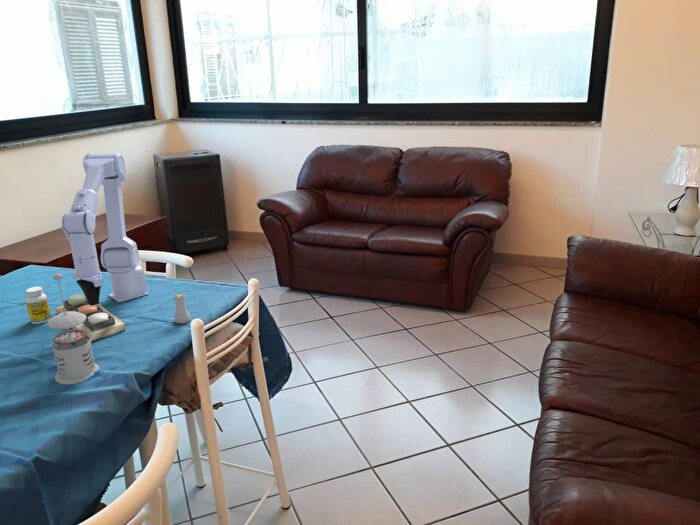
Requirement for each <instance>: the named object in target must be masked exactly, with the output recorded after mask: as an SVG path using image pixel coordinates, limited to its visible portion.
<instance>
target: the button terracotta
mask: <svg viewBox="0 0 700 525" xmlns="http://www.w3.org/2000/svg"><path fill="white" fill-rule="evenodd" d="M77 310H78V312H79V313H82V314H87V313H90V312H94V311H97V310H98V309H97V305H93V306H91V305H84V306H81V307H79V308H78V309H77Z"/></svg>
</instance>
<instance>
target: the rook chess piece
mask: <svg viewBox="0 0 700 525" xmlns="http://www.w3.org/2000/svg"><path fill="white" fill-rule="evenodd" d="M186 296H187V295H185V293H184V292H180V293H179V292H177V293H174V296H173V300H174V301H175V303H174V304H175V307H176V308H175V313H174V316H173V318H174V323H176V324H180V325H181V324H185V323H188V322H190V320H191V314H190V312H189V311H188V310H187V306H186V301H185V300H186V298H187V297H186Z"/></svg>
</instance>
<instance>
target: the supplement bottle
mask: <svg viewBox="0 0 700 525" xmlns="http://www.w3.org/2000/svg"><path fill="white" fill-rule="evenodd" d="M25 294H26V296H27V297H26V298H25V301H24V302H25V305H26V310H27V313H28V317H29V321H30V323H31V324H33V325H41V323H42V324H45V323H48V321H49V320H50V319H51V318H52V313H51V308H50V305H49V300H48V297H47V295H46V294H45V293H44V292H43V287H42V286H32V287H30V288H29V287H28V288H27V289H26V290H25Z"/></svg>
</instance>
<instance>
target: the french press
mask: <svg viewBox="0 0 700 525" xmlns="http://www.w3.org/2000/svg"><path fill="white" fill-rule="evenodd" d="M52 276H53V277H52V278H53V280H54V281H57V284H58V288H59V292H60V298H61V302H62V306H63V307H64V302H63V301H64V299H63V291H62V288H61V283H60V280H62V279H63V274H62V273H60V272H58V273H54V274H53V275H52ZM85 320H86V315H85V314H82V313H79V312H75V311H69V312H65V307H64V313H60V314H58V315H57V314H56V315H53V317H52V316H51V319H50V320H49V321H47V322H46V325H47V327H49V328H50V329H52V330H65V331H62V332H59V333H57V334H55V336H54V337H53V338H52V342H53V344H52V351H53V355H54V360H55V364H56V368H57V373H56V375H55V376H54V380H55V382H56V383H58V384H61V385H74V384H76V383H77V384H80V383H79V382H81V383H83V382H82V381H84V380H86V379H87V378H89V377H90V376H92V375H93V374H94V372H95V371H97V369H99V367H100V365H99V364H97V363H95V359H94V352H93V348H92V341H90V338H89V337H88V336H87V332H86V331H85V330H82V329H81V330H79V329H76V326H78V325H80V324H82V323H83V322H85ZM72 327H75V329H73V328H72ZM86 340H89V341H88V342H87V341H86ZM72 344H75V348H73V345H72ZM59 346H60V347H59ZM56 347H58V348H56ZM89 351H90V352H89ZM57 358H58V359H57ZM98 365H99V366H98ZM84 382H85V381H84Z"/></svg>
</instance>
